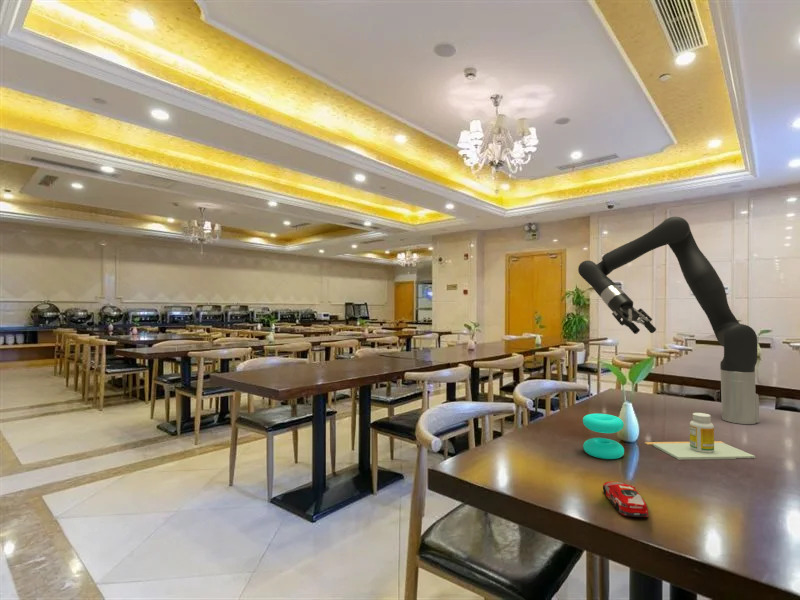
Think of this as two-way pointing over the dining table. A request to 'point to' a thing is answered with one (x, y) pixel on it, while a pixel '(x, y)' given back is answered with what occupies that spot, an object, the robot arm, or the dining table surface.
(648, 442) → the strip
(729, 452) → the mat
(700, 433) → the supplement bottle
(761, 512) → the dining table surface
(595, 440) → the donuts
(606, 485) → the race car
